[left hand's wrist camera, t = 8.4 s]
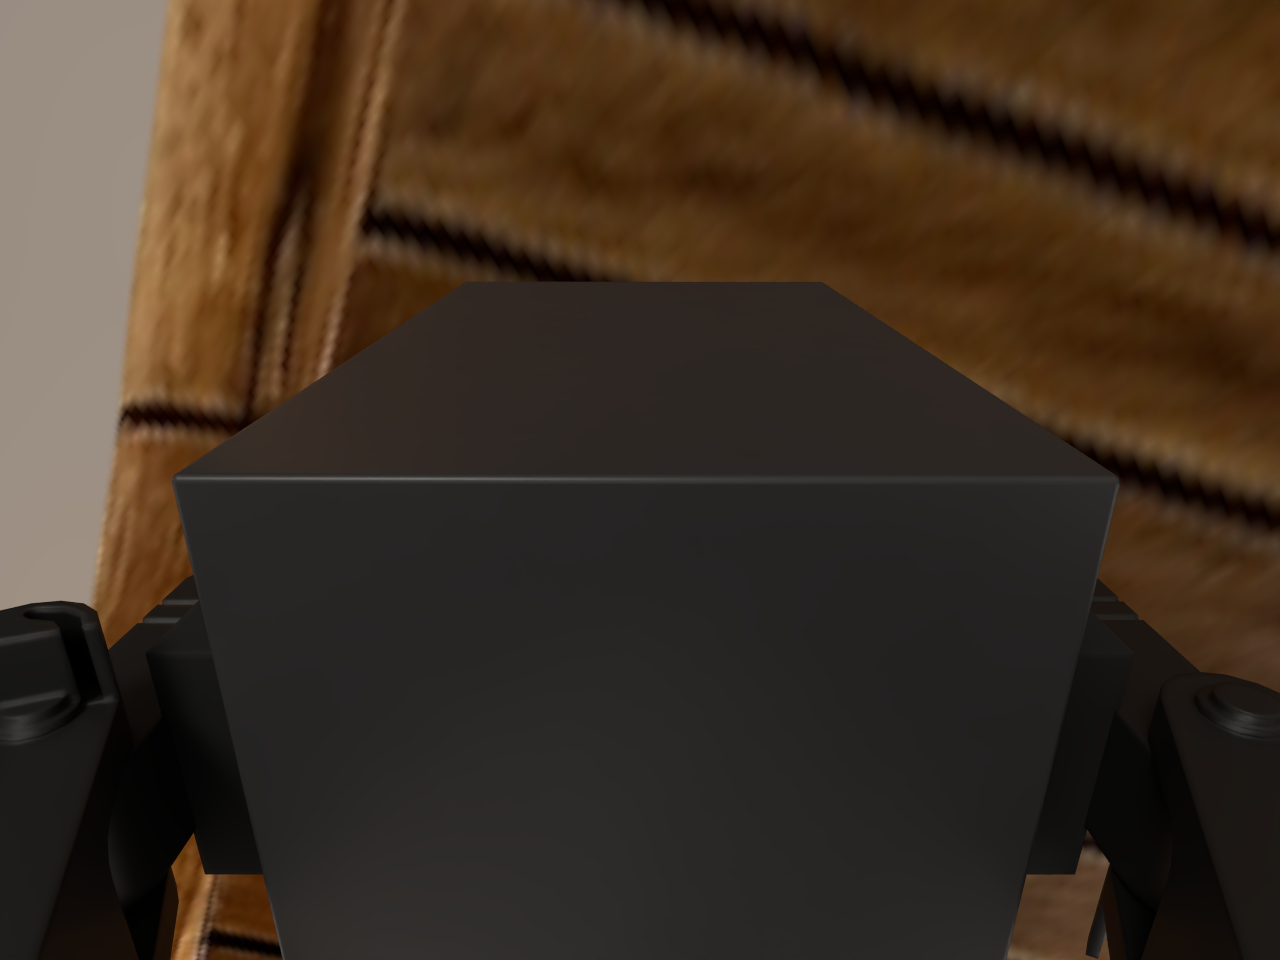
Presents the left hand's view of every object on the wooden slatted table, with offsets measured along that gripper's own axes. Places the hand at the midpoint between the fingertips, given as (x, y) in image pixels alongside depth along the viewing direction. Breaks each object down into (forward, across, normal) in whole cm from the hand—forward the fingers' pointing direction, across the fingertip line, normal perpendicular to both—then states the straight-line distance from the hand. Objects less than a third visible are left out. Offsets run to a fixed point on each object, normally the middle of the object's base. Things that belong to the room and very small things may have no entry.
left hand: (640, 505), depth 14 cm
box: (+1, 0, -7) cm, 7 cm away
